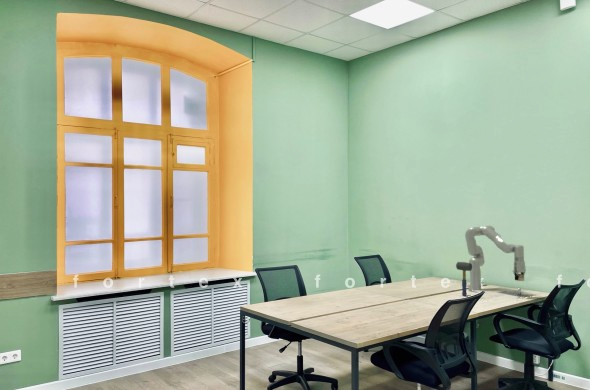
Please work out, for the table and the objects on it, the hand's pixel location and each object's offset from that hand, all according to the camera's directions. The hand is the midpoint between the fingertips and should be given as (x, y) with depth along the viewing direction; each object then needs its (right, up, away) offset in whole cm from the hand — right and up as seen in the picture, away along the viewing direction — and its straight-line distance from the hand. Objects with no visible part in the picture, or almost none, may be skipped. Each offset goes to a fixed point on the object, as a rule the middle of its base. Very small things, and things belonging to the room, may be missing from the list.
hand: (519, 279), depth 393 cm
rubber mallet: (-47, -16, +5) cm, 50 cm away
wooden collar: (0, -1, 0) cm, 1 cm away
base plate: (-3, -16, +6) cm, 17 cm away
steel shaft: (0, -14, 0) cm, 14 cm away
